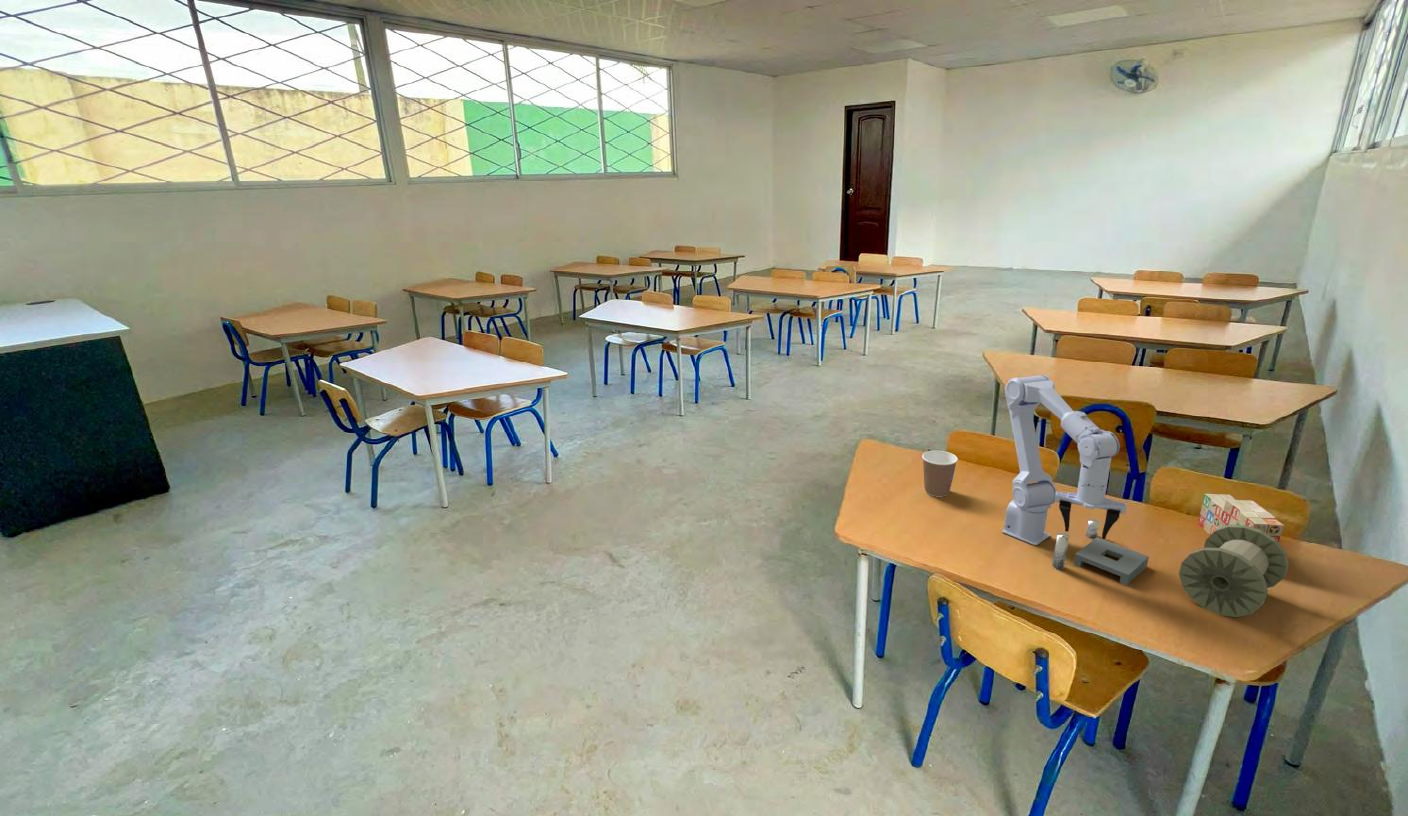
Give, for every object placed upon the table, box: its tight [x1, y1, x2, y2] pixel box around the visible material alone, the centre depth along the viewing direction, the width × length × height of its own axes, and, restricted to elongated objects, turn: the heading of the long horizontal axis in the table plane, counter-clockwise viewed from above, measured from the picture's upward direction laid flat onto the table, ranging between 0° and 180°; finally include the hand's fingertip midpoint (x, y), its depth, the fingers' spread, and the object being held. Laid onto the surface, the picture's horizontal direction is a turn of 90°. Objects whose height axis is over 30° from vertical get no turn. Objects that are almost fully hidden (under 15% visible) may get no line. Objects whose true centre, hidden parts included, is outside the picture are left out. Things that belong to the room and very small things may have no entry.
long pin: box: [1051, 532, 1070, 571], centre depth 159 cm, size 3×3×9 cm
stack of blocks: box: [1197, 493, 1285, 544], centre depth 165 cm, size 21×6×12 cm, turn 169°
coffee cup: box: [921, 450, 959, 498], centre depth 198 cm, size 10×10×12 cm
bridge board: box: [1073, 536, 1150, 587], centre depth 159 cm, size 12×12×3 cm
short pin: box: [1085, 518, 1101, 540], centre depth 172 cm, size 3×3×4 cm
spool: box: [1178, 525, 1290, 618], centre depth 144 cm, size 16×15×15 cm
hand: (1085, 533), depth 155 cm, fingers open, 7 cm apart
